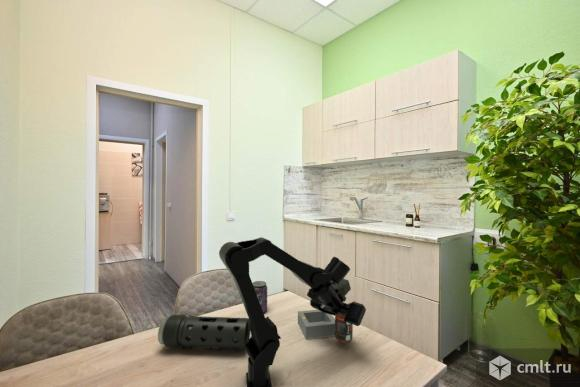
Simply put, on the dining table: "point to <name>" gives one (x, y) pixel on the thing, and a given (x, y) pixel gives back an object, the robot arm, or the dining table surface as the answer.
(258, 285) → the beverage can
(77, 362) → the dining table surface
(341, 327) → the supplement bottle
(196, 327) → the muzzle brake
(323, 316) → the socket housing
